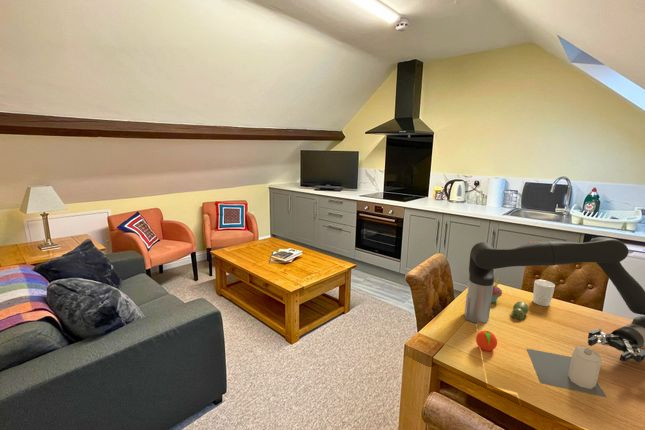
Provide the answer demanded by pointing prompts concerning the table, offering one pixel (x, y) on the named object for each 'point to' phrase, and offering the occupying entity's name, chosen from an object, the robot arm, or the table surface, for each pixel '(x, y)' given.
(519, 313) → the pear
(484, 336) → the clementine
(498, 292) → the cupcake
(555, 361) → the mat
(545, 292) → the white cup
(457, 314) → the table surface
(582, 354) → the white lidded jar
